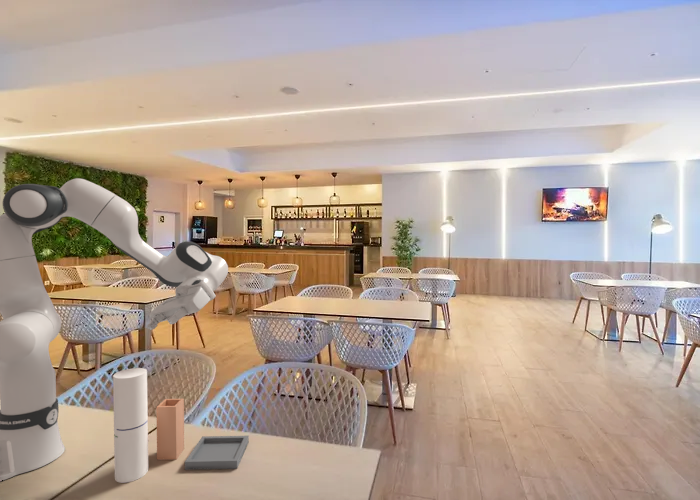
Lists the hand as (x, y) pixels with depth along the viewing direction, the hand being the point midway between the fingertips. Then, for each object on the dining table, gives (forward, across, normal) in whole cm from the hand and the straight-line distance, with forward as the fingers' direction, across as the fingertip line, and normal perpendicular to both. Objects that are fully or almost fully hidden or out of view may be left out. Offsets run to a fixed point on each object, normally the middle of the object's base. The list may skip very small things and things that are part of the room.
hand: (159, 325), depth 102 cm
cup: (+18, -5, +29) cm, 35 cm away
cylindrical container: (+27, -6, +24) cm, 36 cm away
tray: (+15, +7, +35) cm, 38 cm away
